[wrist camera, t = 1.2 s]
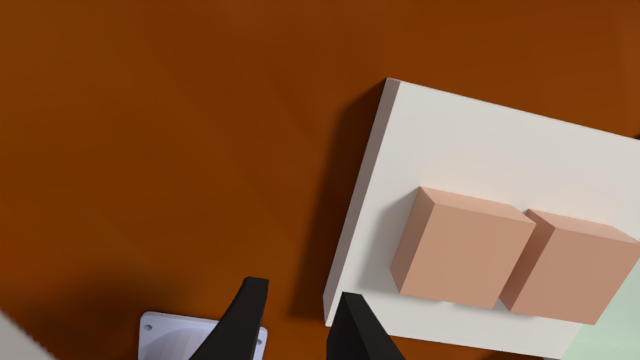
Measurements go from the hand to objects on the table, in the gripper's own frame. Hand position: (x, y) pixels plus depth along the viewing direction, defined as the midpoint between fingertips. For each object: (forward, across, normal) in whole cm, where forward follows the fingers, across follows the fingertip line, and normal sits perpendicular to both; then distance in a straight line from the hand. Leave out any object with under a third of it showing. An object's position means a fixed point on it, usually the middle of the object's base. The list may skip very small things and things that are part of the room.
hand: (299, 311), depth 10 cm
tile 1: (+7, -14, 0) cm, 16 cm away
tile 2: (+7, -8, 0) cm, 11 cm away
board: (+9, -11, 0) cm, 14 cm away
